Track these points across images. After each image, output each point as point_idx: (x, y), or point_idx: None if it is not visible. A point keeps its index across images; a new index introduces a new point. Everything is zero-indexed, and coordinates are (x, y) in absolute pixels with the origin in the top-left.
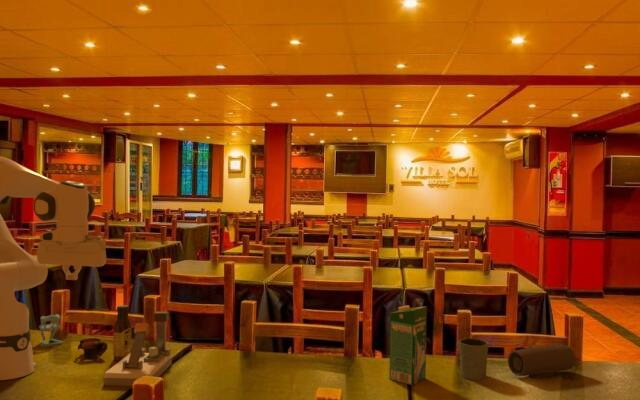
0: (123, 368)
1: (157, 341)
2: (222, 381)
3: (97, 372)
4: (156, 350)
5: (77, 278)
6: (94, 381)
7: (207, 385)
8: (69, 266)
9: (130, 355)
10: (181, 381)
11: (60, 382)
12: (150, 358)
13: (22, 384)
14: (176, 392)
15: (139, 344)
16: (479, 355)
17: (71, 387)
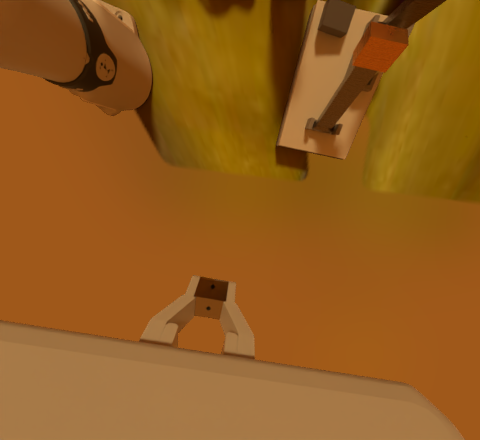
0: (306, 129)
1: (395, 19)
2: (448, 147)
3: (255, 77)
4: (378, 71)
5: (235, 283)
6: (259, 126)
7: (419, 162)
8: (176, 334)
9: (324, 114)
10: (386, 140)
11: (213, 125)
12: None
13: (166, 129)
14: (370, 183)
15: (350, 97)
16: None
17: (234, 149)
